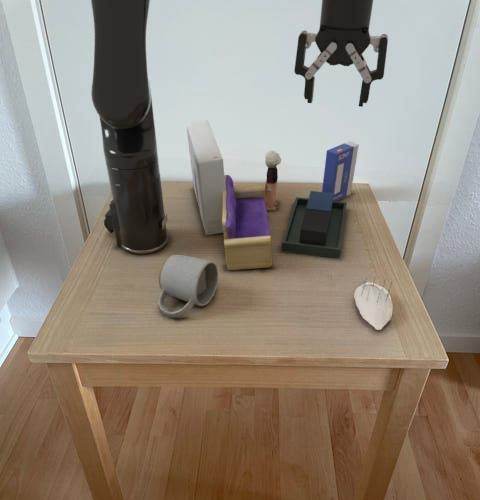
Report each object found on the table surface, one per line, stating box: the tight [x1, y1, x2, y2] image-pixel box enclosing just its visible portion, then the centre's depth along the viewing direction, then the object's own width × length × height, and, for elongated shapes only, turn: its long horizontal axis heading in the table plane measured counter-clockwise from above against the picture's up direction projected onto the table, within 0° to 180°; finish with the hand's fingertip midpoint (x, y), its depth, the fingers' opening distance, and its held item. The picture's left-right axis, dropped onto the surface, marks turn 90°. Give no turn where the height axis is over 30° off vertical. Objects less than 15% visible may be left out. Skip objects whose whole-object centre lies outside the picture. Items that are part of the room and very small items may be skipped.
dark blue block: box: [306, 190, 334, 222], centre depth 104 cm, size 8×5×4 cm, turn 167°
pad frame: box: [281, 196, 348, 259], centre depth 102 cm, size 19×11×2 cm, turn 167°
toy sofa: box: [222, 174, 273, 271], centre depth 95 cm, size 21×9×10 cm, turn 1°
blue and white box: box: [321, 140, 360, 202], centre depth 109 cm, size 8×3×12 cm, turn 133°
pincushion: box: [353, 277, 394, 331], centre depth 81 cm, size 12×6×6 cm, turn 177°
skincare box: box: [185, 119, 226, 236], centre depth 103 cm, size 21×6×16 cm, turn 11°
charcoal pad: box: [299, 210, 330, 246], centre depth 98 cm, size 8×5×4 cm, turn 167°
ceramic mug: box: [157, 254, 219, 319], centre depth 82 cm, size 11×8×8 cm
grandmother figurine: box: [264, 149, 282, 211], centre depth 106 cm, size 8×4×13 cm, turn 178°
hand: (335, 103), depth 83 cm, fingers open, 8 cm apart
